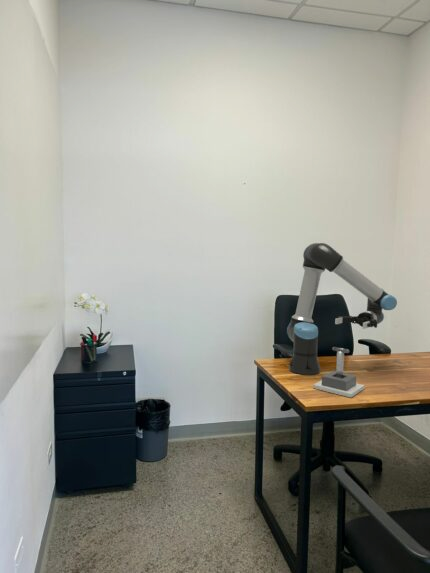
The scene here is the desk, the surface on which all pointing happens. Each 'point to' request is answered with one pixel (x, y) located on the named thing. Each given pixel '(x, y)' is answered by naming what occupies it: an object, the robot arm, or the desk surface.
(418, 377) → the desk surface
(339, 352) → the chuck key
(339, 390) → the chuck block
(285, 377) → the desk surface
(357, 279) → the robot arm
